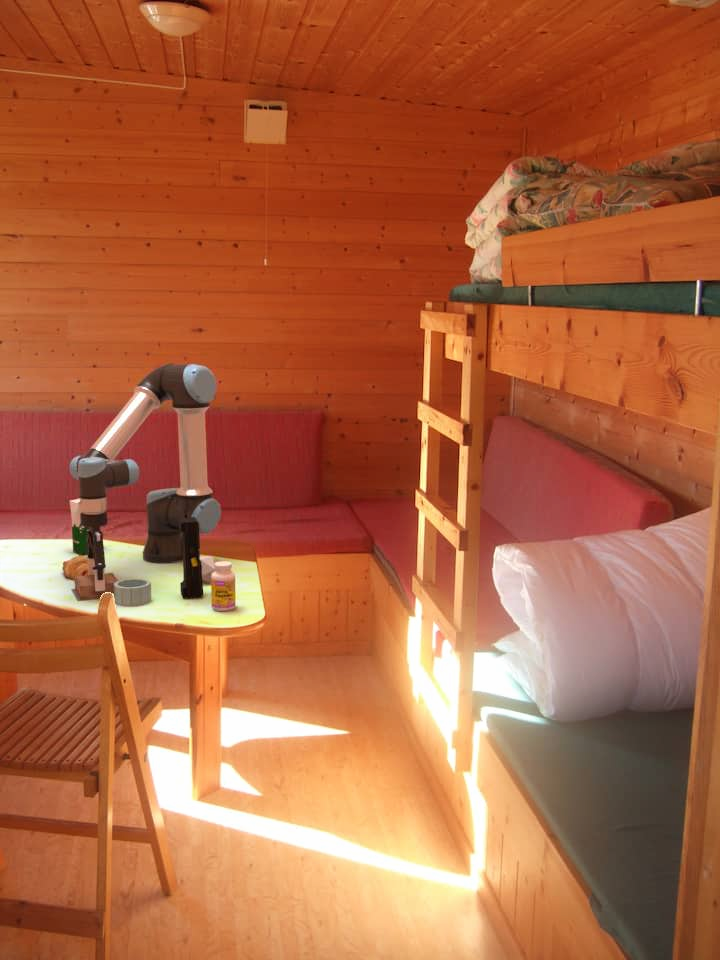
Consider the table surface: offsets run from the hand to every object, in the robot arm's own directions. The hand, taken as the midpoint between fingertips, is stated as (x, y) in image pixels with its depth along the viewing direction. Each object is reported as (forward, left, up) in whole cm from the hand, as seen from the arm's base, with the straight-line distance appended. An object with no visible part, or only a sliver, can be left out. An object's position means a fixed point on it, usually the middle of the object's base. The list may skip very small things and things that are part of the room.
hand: (96, 585), depth 286 cm
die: (-32, 0, -3) cm, 32 cm away
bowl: (-8, +12, -3) cm, 15 cm away
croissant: (+2, -20, -3) cm, 20 cm away
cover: (0, 0, -2) cm, 2 cm away
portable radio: (-25, +13, -3) cm, 28 cm away
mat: (0, 0, -3) cm, 3 cm away
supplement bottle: (-30, +28, -3) cm, 41 cm away
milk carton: (-5, -51, -3) cm, 51 cm away
